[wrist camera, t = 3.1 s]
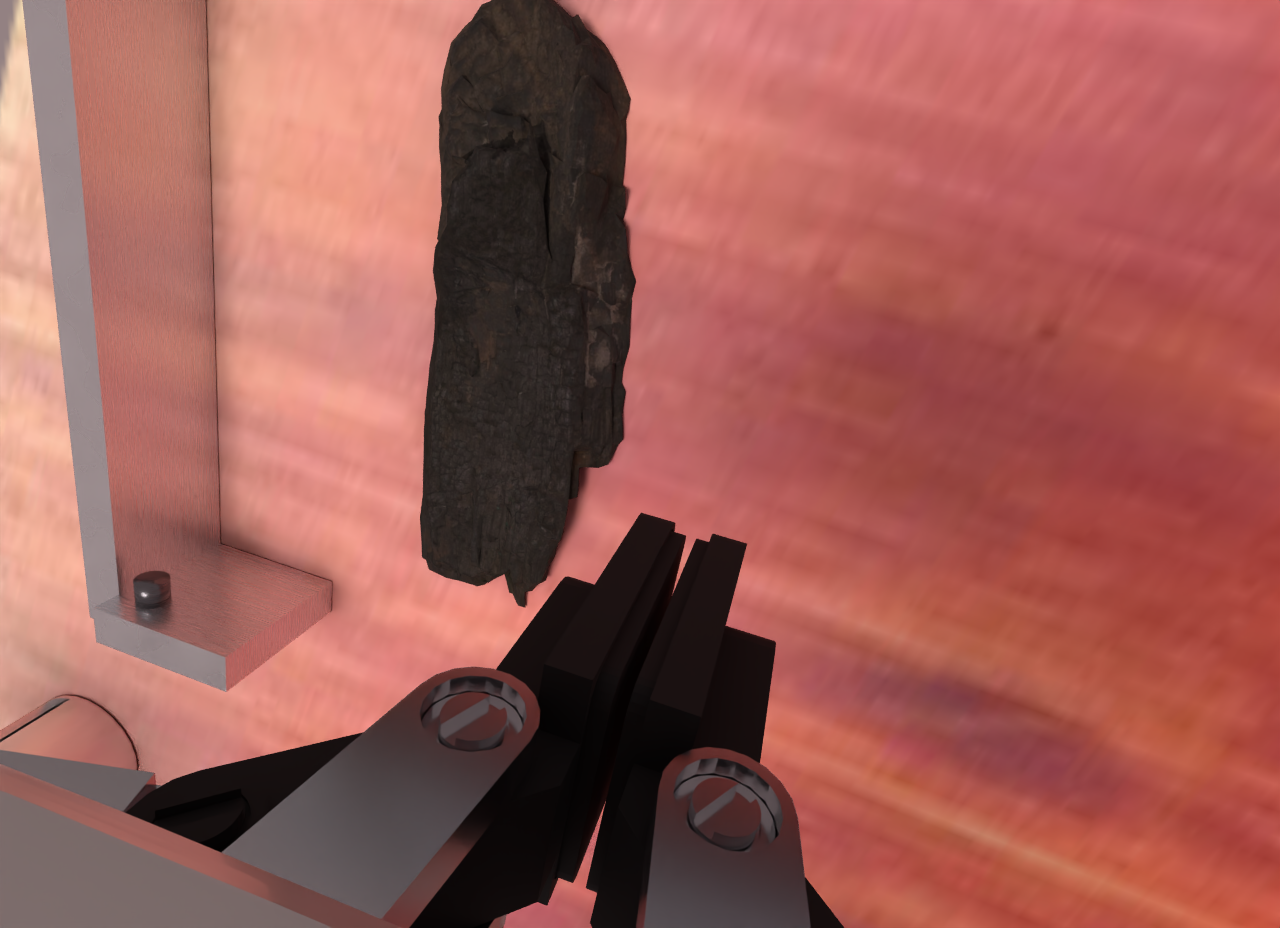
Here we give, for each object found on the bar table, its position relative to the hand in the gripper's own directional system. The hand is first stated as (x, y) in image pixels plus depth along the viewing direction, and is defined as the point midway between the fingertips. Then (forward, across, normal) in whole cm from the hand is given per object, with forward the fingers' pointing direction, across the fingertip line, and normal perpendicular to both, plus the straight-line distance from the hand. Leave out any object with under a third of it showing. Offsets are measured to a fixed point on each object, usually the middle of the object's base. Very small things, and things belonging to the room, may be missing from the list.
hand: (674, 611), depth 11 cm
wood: (+15, +8, 0) cm, 17 cm away
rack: (+14, +21, +1) cm, 25 cm away
